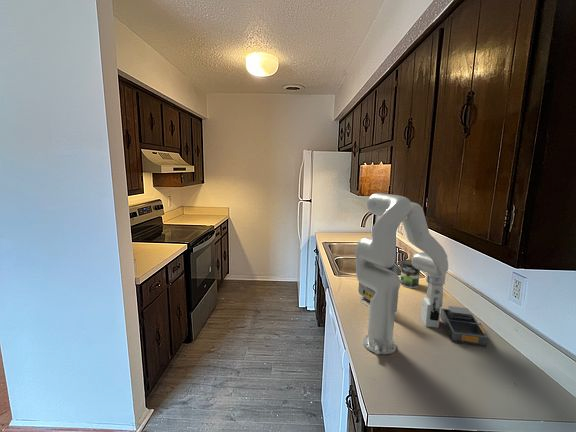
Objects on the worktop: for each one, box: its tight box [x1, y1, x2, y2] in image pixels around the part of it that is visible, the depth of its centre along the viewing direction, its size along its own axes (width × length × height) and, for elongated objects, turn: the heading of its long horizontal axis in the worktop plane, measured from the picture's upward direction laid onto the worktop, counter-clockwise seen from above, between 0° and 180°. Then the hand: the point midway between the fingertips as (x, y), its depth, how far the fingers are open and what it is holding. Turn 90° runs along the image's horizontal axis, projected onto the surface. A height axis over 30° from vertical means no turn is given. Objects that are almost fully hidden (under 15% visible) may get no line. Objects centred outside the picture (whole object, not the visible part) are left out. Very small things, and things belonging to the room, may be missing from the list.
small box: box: [420, 296, 442, 328], centre depth 137 cm, size 8×6×10 cm
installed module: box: [447, 305, 473, 322], centre depth 136 cm, size 6×8×6 cm
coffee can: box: [400, 259, 421, 289], centre depth 179 cm, size 10×10×14 cm
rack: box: [440, 307, 489, 348], centre depth 131 cm, size 22×13×4 cm, turn 165°
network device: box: [357, 281, 400, 313], centre depth 151 cm, size 26×9×20 cm, turn 22°
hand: (432, 314), depth 137 cm, fingers open, 9 cm apart
